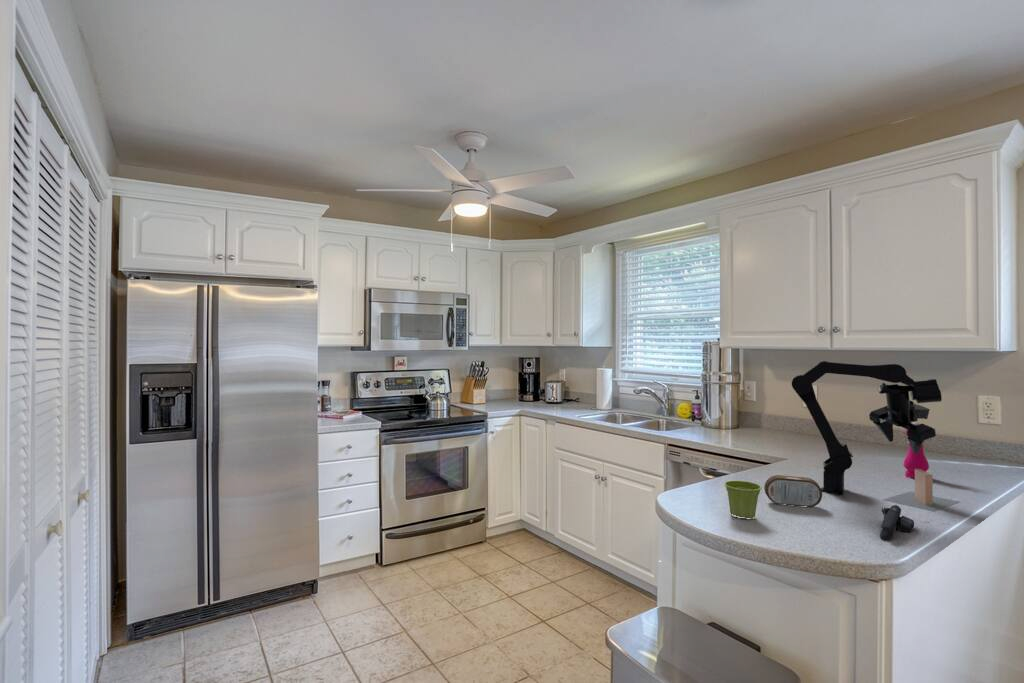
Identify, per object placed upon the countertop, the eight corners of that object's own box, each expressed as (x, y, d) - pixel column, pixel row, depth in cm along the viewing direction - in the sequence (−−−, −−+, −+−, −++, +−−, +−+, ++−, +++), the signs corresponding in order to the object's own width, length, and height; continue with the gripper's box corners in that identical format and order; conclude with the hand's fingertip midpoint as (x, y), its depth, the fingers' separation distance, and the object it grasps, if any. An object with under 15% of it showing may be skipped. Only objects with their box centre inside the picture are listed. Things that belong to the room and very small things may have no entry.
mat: (933, 513, 148) (933, 511, 148) (882, 501, 159) (882, 499, 159) (960, 503, 157) (960, 501, 157) (909, 493, 168) (909, 491, 168)
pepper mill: (925, 476, 190) (925, 421, 191) (931, 480, 184) (931, 423, 184) (901, 474, 193) (901, 419, 194) (906, 478, 187) (906, 422, 187)
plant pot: (769, 518, 142) (769, 486, 142) (746, 524, 138) (746, 491, 138) (739, 509, 151) (739, 479, 151) (716, 514, 146) (717, 483, 146)
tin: (820, 506, 154) (820, 477, 154) (823, 509, 151) (823, 480, 151) (764, 501, 159) (764, 473, 159) (765, 504, 156) (765, 475, 156)
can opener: (884, 521, 141) (884, 500, 141) (916, 528, 136) (916, 506, 136) (866, 537, 129) (866, 514, 129) (901, 545, 124) (901, 521, 124)
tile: (925, 505, 153) (925, 474, 153) (914, 498, 160) (914, 468, 160) (932, 505, 153) (932, 474, 153) (921, 499, 159) (921, 469, 160)
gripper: (950, 405, 154) (954, 451, 158) (896, 385, 172) (900, 427, 176) (916, 417, 153) (921, 463, 157) (865, 396, 171) (871, 438, 175)
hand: (903, 447), depth 167 cm, fingers open, 9 cm apart
